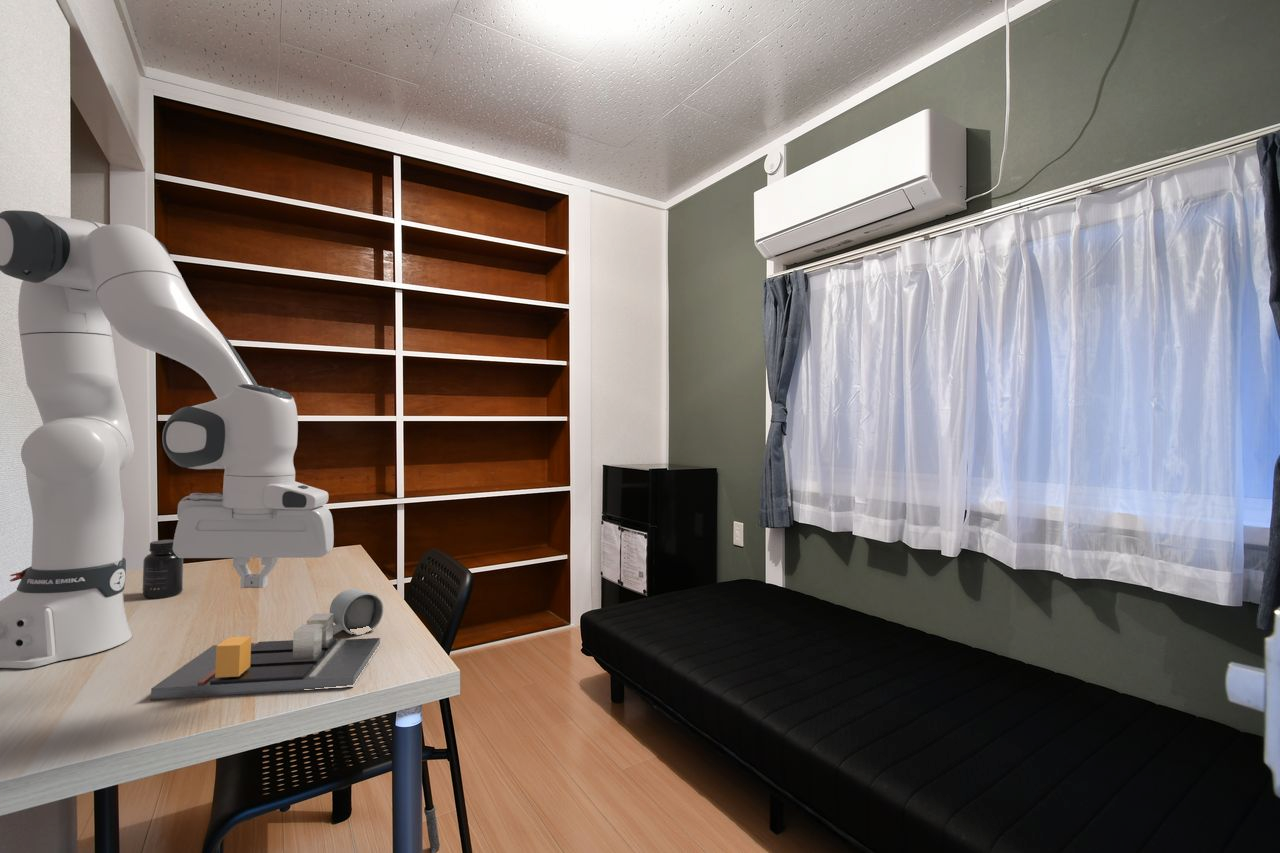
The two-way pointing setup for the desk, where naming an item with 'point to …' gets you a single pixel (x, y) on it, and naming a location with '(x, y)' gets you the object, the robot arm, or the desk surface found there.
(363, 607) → the ceramic mug
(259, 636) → the desk surface
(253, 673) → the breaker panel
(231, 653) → the toggle
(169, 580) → the supplement bottle
